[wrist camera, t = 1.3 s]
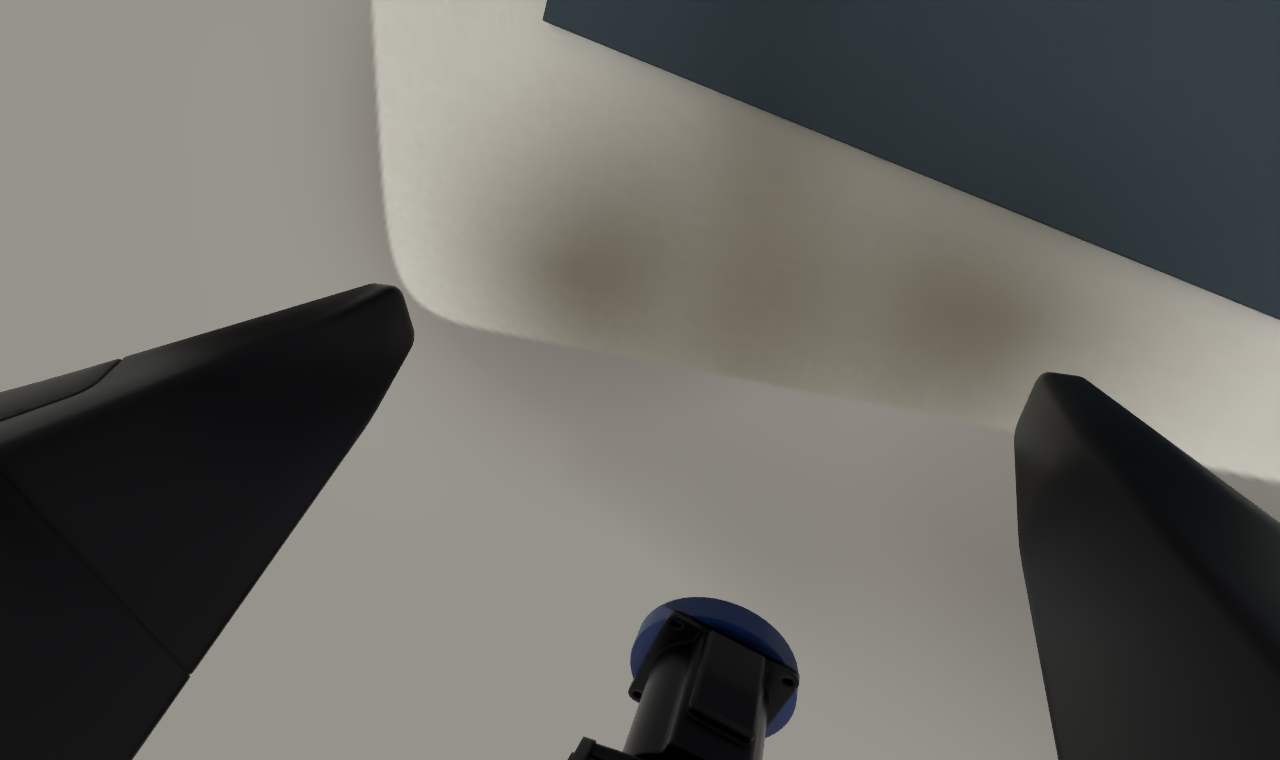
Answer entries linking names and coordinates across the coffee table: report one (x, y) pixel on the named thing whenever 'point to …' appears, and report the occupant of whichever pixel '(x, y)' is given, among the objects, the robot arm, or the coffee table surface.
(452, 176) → the coffee table surface
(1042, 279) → the coffee table surface
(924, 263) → the coffee table surface
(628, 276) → the coffee table surface
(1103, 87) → the slate mat
